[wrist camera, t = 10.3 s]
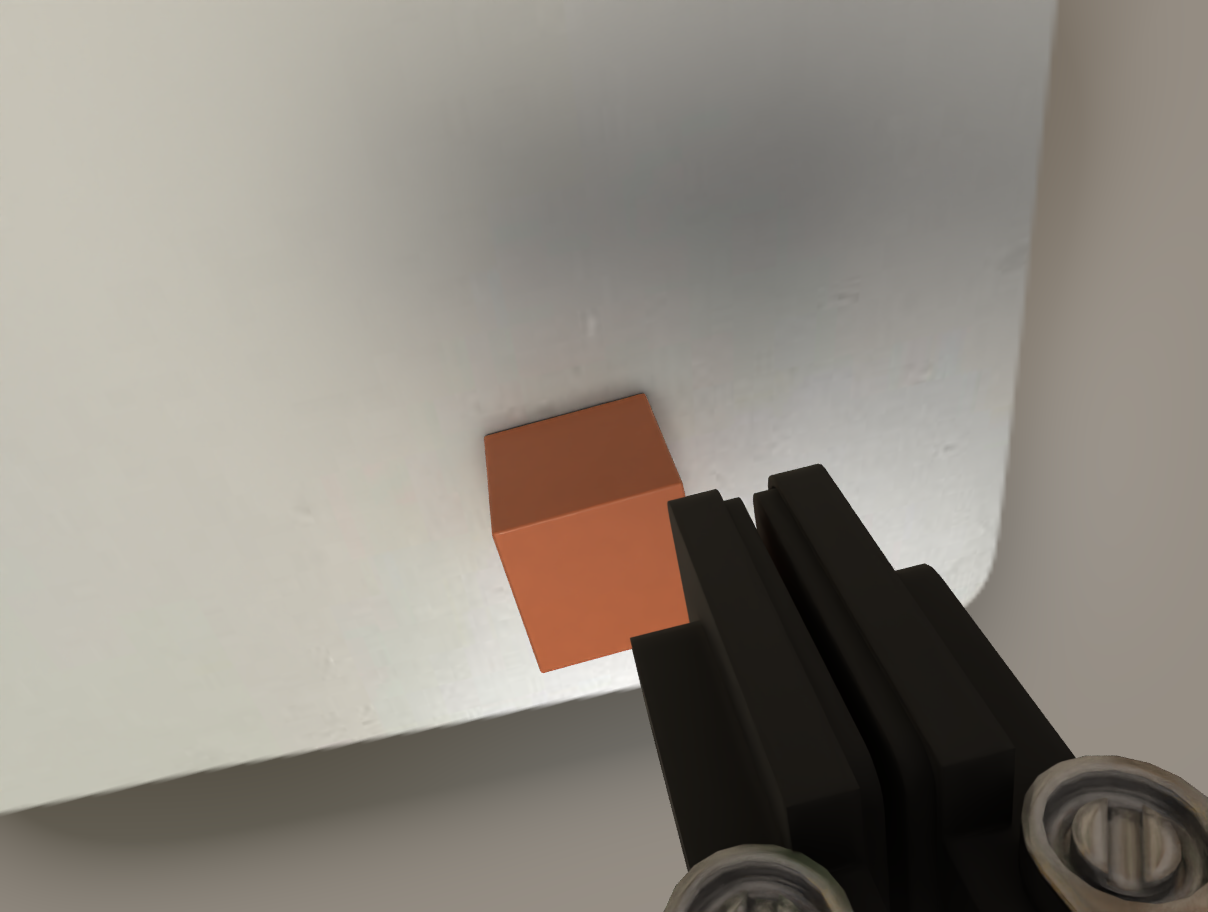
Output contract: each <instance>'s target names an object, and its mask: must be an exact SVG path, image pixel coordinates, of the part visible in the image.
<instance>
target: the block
mask: <svg viewBox="0 0 1208 912" xmlns="http://www.w3.org/2000/svg"><path fill="white" fill-rule="evenodd" d="M484 443H485V455H486V467H487V479H488V491H489V503H490V515H491V527H492V536H493V539H494V542H495V545H496V547H497V550H498V553H499V556H500V559H501V562H502V564H503V567H504V570H505V573H506V576H507V578H508V581H509V584H510V587H511V590H512V593H513V595H514V598H515V601H516V604H517V607H518V609H519V612H520V615H521V618H522V621H523V624H524V626H525V629H526V632H527V635H528V638H529V640H530V643H531V646H532V649H533V652H534V655H535V657H536V660H537V663H538V666H539V669H540V671H541V672H542V673H545V672H549V671H553V670H556V669H560V668H564V667H567V666H571V665H574V664H578V663H582V662H585V661H589V660H593V659H596V658H600V657H604V656H607V655H611V654H614V653H618V652H622V651H625V650H629V649H632V646H631V642H630V638H631V637H635V636H639V635H643V634H647V633H651V632H655V631H659V630H663V629H667V628H671V627H675V626H679V625H682V624H686V623H689V618H688V612H687V607H686V602H685V597H684V592H683V586H682V581H681V576H680V571H679V566H678V561H677V555H676V550H675V545H674V540H673V535H672V529H671V524H670V519H669V513H668V506H667V502H668V501H670V500H674V499H678V498H682V497H685V492H684V488H683V483H682V481H681V478H680V476H679V474H678V471H677V469H676V466H675V464H674V462H673V459H672V457H671V454H670V452H669V450H668V447H667V445H666V443H665V440H664V438H663V435H662V433H661V431H660V428H659V426H658V423H657V421H656V419H655V416H654V414H653V411H652V409H651V407H650V404H649V402H648V400H647V397H646V395H645V394H639V395H635V396H631V397H628V398H624V399H620V400H617V401H613V402H609V403H606V404H602V405H598V406H594V407H591V408H587V409H583V410H580V411H576V412H572V413H569V414H565V415H561V416H558V417H554V418H550V419H546V420H543V421H539V422H535V423H532V424H528V425H524V426H521V427H517V428H513V429H510V430H506V431H502V432H498V433H495V434H491V435H487V436H485V437H484Z"/></svg>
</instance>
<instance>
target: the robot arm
mask: <svg viewBox="0 0 1208 912" xmlns="http://www.w3.org/2000/svg"><path fill="white" fill-rule="evenodd" d="M753 505H754V513H755V520H756V527H755V525H754V523H753V521H752V519H751V517H750V515H749V513H748V511H747V509H746V507H745V505H744V504H743V502H742V500H741V498H739V497H738V498H734V499H730V500H726V501H723V499H722V497H721V495H720V493H719V491H718V490H717V489H714V490H710V491H706V492H702V493H698V494H694V495H690V496H686V497H682V498H678V499H674V500H670V501H668V502H667V506H668V513H669V519H670V524H671V529H672V535H673V540H674V545H675V550H676V555H677V561H678V566H679V571H680V576H681V581H682V586H683V592H684V597H685V602H686V607H687V612H688V618H689V623H686V624H682V625H679V626H675V627H671V628H667V629H663V630H659V631H655V632H651V633H647V634H643V635H639V636H635V637H631V638H630V642H631V646H632V651H633V655H634V659H635V663H636V668H637V672H638V676H639V680H640V684H641V688H642V692H643V697H644V701H645V705H646V709H647V713H648V717H649V721H650V725H651V729H652V733H653V737H654V741H655V745H656V749H657V753H658V757H659V761H660V765H661V769H662V773H663V777H664V780H665V784H666V788H667V792H668V796H669V800H670V804H671V808H672V812H673V815H674V819H675V823H676V827H677V831H678V835H679V839H680V843H681V847H682V851H683V854H684V858H685V862H686V866H687V869H688V873H687V874H686V875H685V876H684V877H683V878H682V879H681V880H680V882H679V883H678V884H677V885H676V886H675V888H674V890H673V892H672V895H671V897H670V899H669V901H668V903H667V906H666V908H665V910H664V912H1208V797H1207V796H1205V795H1204V794H1203V793H1201V792H1200V791H1199V790H1197V789H1196V788H1195V787H1193V786H1192V785H1190V784H1189V783H1188V782H1186V781H1185V780H1184V779H1182V778H1181V777H1179V776H1177V775H1175V774H1172V773H1170V772H1168V771H1165V770H1163V769H1161V768H1159V767H1157V766H1155V765H1152V764H1150V763H1147V762H1142V761H1138V760H1134V759H1129V758H1124V757H1120V756H1082V757H1078V758H1075V756H1074V755H1073V754H1072V752H1071V751H1070V749H1069V748H1068V747H1067V745H1066V744H1065V743H1064V741H1063V740H1062V739H1061V738H1060V736H1059V735H1058V733H1057V732H1056V731H1055V729H1054V728H1053V727H1052V725H1051V724H1050V723H1049V721H1048V720H1047V719H1046V718H1045V716H1044V714H1043V713H1042V712H1041V710H1040V709H1039V708H1038V706H1037V705H1036V704H1035V702H1034V701H1033V700H1032V698H1031V697H1030V696H1029V694H1028V693H1027V692H1026V690H1025V689H1024V688H1023V686H1022V685H1021V684H1020V682H1019V681H1018V680H1017V678H1016V677H1015V676H1014V674H1013V673H1012V671H1011V670H1010V669H1009V667H1008V666H1007V665H1006V664H1005V662H1004V661H1003V659H1002V658H1001V657H1000V655H999V654H998V653H997V651H996V650H995V649H994V647H993V646H992V645H991V643H990V642H989V641H988V639H987V638H986V637H985V635H984V634H983V633H982V631H981V630H980V629H979V627H978V626H977V625H976V623H975V622H974V621H973V619H972V618H971V617H970V615H969V614H968V612H967V611H966V610H965V608H964V607H963V606H962V604H961V603H960V602H959V600H958V599H957V598H956V596H955V595H954V594H953V592H952V591H951V590H950V588H949V587H948V585H947V584H946V583H945V581H944V580H943V579H942V577H941V576H940V575H939V574H938V573H937V572H936V571H935V570H934V569H933V568H932V567H931V566H929V565H927V564H925V563H924V564H920V565H916V566H912V567H908V568H905V569H901V570H897V571H895V570H894V569H893V567H892V566H891V564H890V563H889V561H888V560H887V558H886V557H885V555H884V554H883V553H882V551H881V550H880V548H879V547H878V545H877V544H876V542H875V541H874V539H873V538H872V536H871V535H870V533H869V532H868V531H867V529H866V528H865V526H864V525H863V523H862V522H861V520H860V519H859V517H858V516H857V514H856V513H855V511H854V510H853V509H852V507H851V506H850V504H849V503H848V501H847V500H846V498H845V497H844V495H843V494H842V492H841V491H840V490H839V488H838V487H837V485H836V484H835V482H834V481H833V479H832V478H831V476H830V475H829V473H828V472H827V470H826V469H825V468H824V467H823V466H822V465H821V464H815V465H811V466H807V467H803V468H799V469H795V470H791V471H787V472H783V473H779V474H775V475H771V476H770V477H769V478H768V490H766V491H762V492H758V493H754V495H753ZM756 528H757V529H756Z"/></svg>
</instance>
